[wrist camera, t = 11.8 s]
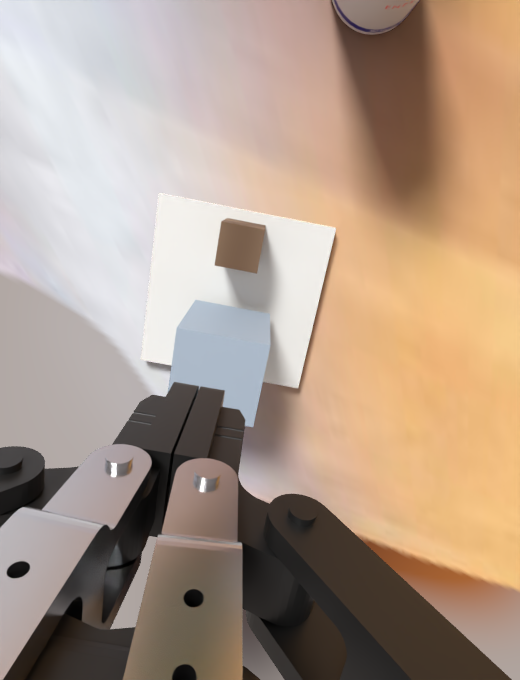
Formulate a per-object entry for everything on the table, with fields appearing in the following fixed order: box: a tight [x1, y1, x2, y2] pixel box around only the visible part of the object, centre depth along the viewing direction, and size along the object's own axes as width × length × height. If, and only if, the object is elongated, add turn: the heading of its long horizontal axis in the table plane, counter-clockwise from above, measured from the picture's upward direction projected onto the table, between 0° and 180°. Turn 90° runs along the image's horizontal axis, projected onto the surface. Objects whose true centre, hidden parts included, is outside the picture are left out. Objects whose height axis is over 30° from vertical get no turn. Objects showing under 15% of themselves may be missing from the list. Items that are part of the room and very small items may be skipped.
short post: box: [215, 218, 265, 274], centre depth 28 cm, size 3×3×4 cm
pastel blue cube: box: [168, 300, 271, 427], centre depth 28 cm, size 5×5×7 cm
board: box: [141, 193, 336, 388], centre depth 31 cm, size 12×12×1 cm
